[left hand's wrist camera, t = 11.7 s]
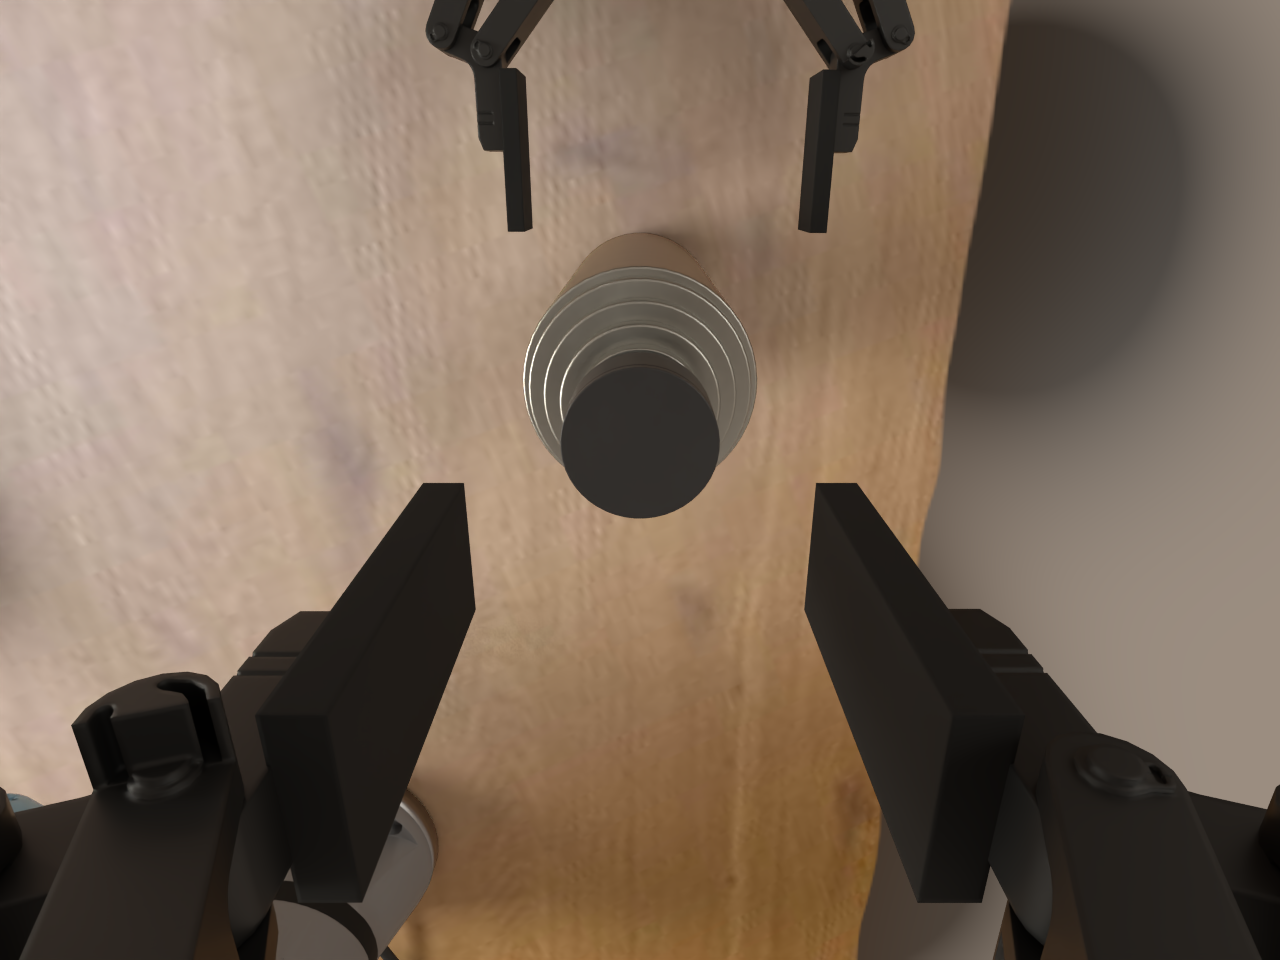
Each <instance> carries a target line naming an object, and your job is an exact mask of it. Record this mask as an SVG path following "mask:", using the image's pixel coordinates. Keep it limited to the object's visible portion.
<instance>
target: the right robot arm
mask: <svg viewBox="0 0 1280 960" xmlns="http://www.w3.org/2000/svg"><path fill="white" fill-rule="evenodd" d="M553 1H554V0H499V2H498V3H497V5H496V6H495V8H494V9H493V11H492V12H491V13H490V15H489V16H488V18H487V19H486V21H485V22H484V24H483V25H482V27H481V28H480V30H479V31H475V30H473V29H474V27H475V24H476V21H477V18H478V16H479V13H480V10H481V7H482V5H483V2H484V0H435V1H434V4H433V7H432V10H431V13H430V16H429V19H428V22H427V24H426V36H427V38H428V40H429V42H430V43H431V44H432V45H433V46H435V47H436V48H437V49H439V50H440V51H442V52H443V53H445V54H446V55H448V56H450V57H453V58H456V59H459V60H461V61H464V62H466V63H468V64H469V65H470V67H471V68H472V70H473V73H474V78H475V93H476V108H477V122H478V137H479V140H480V142H481V145H482V147H483V149H484V150H485V151H490V152H503V155H504V172H505V189H506V206H507V223H508V232H525V231H527V230H530V229H532V228H533V226H532V204H531V183H530V161H529V140H528V118H527V97H526V77H525V76H524V75H523V74H522V73H521V72H520V71H519V70H518V69H517V68H507V67H508V65H509V64H510V62H511V61H512V59H513V58H514V57H515V55H516V54H517V52H518V51H519V49H520V48H521V47H522V45H523V44H524V42H525V41H526V39H527V38H528V36H529V35H530V34H531V32H532V31H533V29H534V28H535V26H536V25H537V24H538V22H539V21H540V19H541V18H542V16H543V15H544V13H545V12H546V11H547V9H548V8H549V6H550V5H551V3H552V2H553ZM784 2H785V3H786V5H787V6H788V8H789V9H790V11H791V12H792V14H793V15H794V17H795V18H796V20H797V21H798V23H799V24H800V26H801V28H802V29H803V31H804V32H805V34H806V35H807V37H808V38H809V40H810V41H811V43H812V44H813V46H814V47H815V49H816V50H817V52H818V53H819V55H820V56H821V58H822V59H823V61H824V62H825V64H826V65H827V67H828V68H829V70H822V71H820V72H819V73H817V74H816V75H814V76H812V77H811V78H810V82H809V95H808V108H807V120H806V133H805V146H804V159H803V172H802V185H801V198H800V211H799V223H798V230H802V231H805V232H809V233H827V222H828V211H829V200H830V189H831V178H832V167H833V156H834V153H848V152H852V151H853V148H854V146H855V144H856V142H857V140H858V131H859V121H860V111H861V101H862V92H863V82H864V76H865V73H866V71H867V69H868V68H869V67H870V65H872V64H873V63H875V62H878V61H880V60H883V59H886V58H889V57H890V56H892V55H894V54H896V53H898V52H900V51H902V50H904V49H906V48H907V47H908V46H910V44H911V43H912V41H913V39H914V34H915V31H914V25H913V22H912V19H911V16H910V12H909V9H908V6H907V3H906V0H853V2H854V5H855V8H856V11H857V14H858V17H859V20H860V23H861V26H862V29H863V32H864V33H862V32H861V30H860V29H859V27H858V26H857V24H856V23H855V21H854V19H853V18H852V16H851V15H850V13H849V12H848V10H847V8H846V7H845V5H844V4H843V2H842V1H841V0H784Z"/></svg>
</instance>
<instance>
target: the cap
mask: <svg viewBox="0 0 1280 960" xmlns="http://www.w3.org/2000/svg"><path fill="white" fill-rule="evenodd" d="M560 450H561V456H562V461H563V464H564V467H565V470H566V472H567V474H568V476H569V478H570V480H571V481H572V483H573V484H574V486H575V487H576V489H577V490H578V491H579V492H580V493H581V494H582V495H583V496H584V497H585V498H586V499H587V500H588V501H590V502H591V503H593V504H594V505H595V506H597V507H599V508H601V509H603V510H605V511H607V512H609V513H612V514H615V515H618V516H622V517H628V518H652V517H658V516H662V515H665V514H668V513H671V512H673V511H676V510H677V509H679V508H681V507H683V506H685V505H686V504H687V503H689V502H690V501H692V500H693V499H694V498H695V497H696V496H697V495H698V494H699V493H700V492H701V491H702V490H703V489H704V487H705V486H706V485H707V483H708V482H709V480H710V478H711V476H712V474H713V472H714V470H715V467H716V464H717V461H718V456H719V451H720V436H719V429H718V425H717V421H716V418H715V414H714V411H713V408H712V405H711V402H710V400H709V397H708V394H707V392H706V391H705V389H704V387H703V385H702V384H701V383H700V381H699V380H698V379H697V377H696V376H695V375H694V374H693V373H692V372H691V371H690V370H688V369H687V368H686V367H684V366H683V365H682V364H680V363H678V362H676V361H675V360H673V359H670V358H668V357H665V356H662V355H658V354H654V353H647V352H633V353H626V354H622V355H618V356H615V357H612V358H610V359H607V360H605V361H604V362H602V363H600V364H598V365H597V366H596V367H594V368H593V369H592V370H590V371H589V372H588V373H587V374H586V375H585V376H584V377H583V379H582V380H581V381H580V383H579V384H578V385H577V387H576V389H575V391H574V393H573V395H572V397H571V400H570V402H569V405H568V408H567V411H566V415H565V418H564V421H563V425H562V429H561V437H560Z"/></svg>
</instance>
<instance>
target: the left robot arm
mask: <svg viewBox="0 0 1280 960" xmlns="http://www.w3.org/2000/svg"><path fill="white" fill-rule="evenodd" d="M475 610H476V608H475V597H474V587H473V576H472V565H471V554H470V544H469V533H468V522H467V512H466V501H465V490H464V483H423V484H422V486H421V487H420V488H419V490H418V491H417V492H416V494H415V495H414V497H413V498H412V499H411V501H410V502H409V503H408V505H407V506H406V508H405V509H404V510H403V512H402V513H401V514H400V516H399V517H398V519H397V520H396V521H395V523H394V524H393V525H392V527H391V528H390V530H389V531H388V532H387V534H386V535H385V536H384V538H383V539H382V541H381V542H380V543H379V545H378V546H377V547H376V549H375V550H374V552H373V553H372V554H371V556H370V557H369V558H368V560H367V561H366V563H365V564H364V565H363V567H362V568H361V570H360V571H359V572H358V574H357V575H356V576H355V578H354V579H353V581H352V582H351V583H350V585H349V586H348V587H347V589H346V590H345V592H344V593H343V594H342V596H341V597H340V598H339V600H338V601H337V603H336V604H335V605H334V607H333V608H332V609H331V611H300V612H299V613H297V614H296V615H294V616H292V617H291V618H289V619H288V620H286V621H285V622H283V623H282V624H280V625H279V626H277V627H275V628H274V629H272V630H271V631H270V632H269V633H268V635H267V636H266V637H265V638H264V639H263V641H262V642H261V643H260V644H259V645H258V647H257V648H256V649H255V650H254V652H253V656H252V657H249V658H248V659H247V660H246V661H245V662H244V664H243V665H242V666H241V667H240V668H239V670H238V671H237V672H238V673H237V676H233V677H232V678H231V679H230V681H229V682H228V683H227V684H226V685H225V687H224V688H223V689H222V690H221V691H220V688H219V684H218V683H216V682H215V681H214V680H212V679H211V678H210V677H209V676H207V675H203V674H197V673H192V672H178V673H166V674H160V675H156V676H152V677H148V678H145V679H141V680H137V681H134V682H132V683H129V684H127V685H125V686H123V687H120V688H118V689H116V690H114V691H112V692H109V693H107V694H106V695H104V696H103V697H101V698H100V699H99V700H97V701H96V702H94V703H93V704H91V705H90V706H88V707H87V708H85V710H84V711H83V712H82V713H81V714H80V716H79V717H78V718H77V719H76V720H75V721H74V723H73V724H72V725H71V726H72V729H73V732H74V735H75V737H76V740H77V743H78V746H79V749H80V752H81V755H82V758H83V761H84V764H85V766H86V769H87V772H88V775H89V778H90V781H91V784H92V787H93V793H92V795H89V796H85V797H82V798H77V799H73V800H68V801H64V802H59V803H55V804H50V805H46V806H43V805H41V804H40V803H38V802H36V801H34V800H33V799H31V798H29V797H27V796H24V795H20V794H6V791H5V790H4V789H2V788H1V787H0V960H378V958H379V957H380V956H381V957H382V959H383V960H399V959H398V958H397V957H396V956H395V955H394V953H393V952H392V951H391V950H390V948H389V947H388V944H389V943H390V941H391V940H392V939H393V937H394V936H395V935H396V933H397V932H398V930H399V929H400V928H401V926H402V925H403V924H404V922H405V921H406V920H407V918H408V917H409V915H410V914H411V913H412V911H413V910H414V909H415V907H416V906H417V904H418V903H419V901H420V900H421V898H422V897H423V895H424V893H425V891H426V890H427V888H428V885H429V883H430V880H431V877H432V874H433V870H434V867H435V864H436V860H437V855H438V839H437V834H436V830H435V827H434V824H433V822H432V820H431V818H430V816H429V814H428V813H427V811H426V809H425V808H424V807H423V805H422V804H421V803H420V802H419V801H418V800H417V798H416V797H415V796H414V795H413V794H411V793H410V792H409V791H408V790H407V789H406V788H407V786H408V783H409V781H410V778H411V775H412V773H413V770H414V768H415V765H416V763H417V760H418V757H419V755H420V752H421V750H422V747H423V744H424V742H425V739H426V737H427V734H428V732H429V729H430V726H431V724H432V721H433V719H434V716H435V713H436V711H437V708H438V706H439V703H440V700H441V698H442V695H443V693H444V690H445V688H446V685H447V682H448V680H449V677H450V675H451V672H452V669H453V667H454V664H455V662H456V659H457V657H458V654H459V651H460V649H461V646H462V644H463V641H464V638H465V636H466V633H467V631H468V628H469V626H470V623H471V620H472V618H473V615H474V613H475ZM804 610H805V613H806V615H807V618H808V620H809V623H810V626H811V628H812V631H813V633H814V636H815V638H816V641H817V644H818V646H819V649H820V651H821V654H822V657H823V659H824V662H825V664H826V667H827V669H828V672H829V675H830V677H831V680H832V682H833V685H834V688H835V690H836V693H837V695H838V698H839V700H840V703H841V706H842V708H843V711H844V713H845V716H846V719H847V721H848V724H849V726H850V729H851V732H852V734H853V737H854V739H855V742H856V744H857V747H858V750H859V752H860V755H861V757H862V760H863V763H864V765H865V768H866V770H867V773H868V775H869V778H870V781H871V783H872V786H873V788H874V791H875V794H876V796H877V799H878V801H879V804H880V806H881V809H882V812H883V814H884V817H885V819H886V822H887V825H888V827H889V830H890V832H891V835H892V837H893V840H894V842H895V845H896V848H897V850H898V853H899V856H900V858H901V861H902V863H903V866H904V868H905V871H906V874H907V876H908V879H909V881H910V884H911V887H912V889H913V892H914V894H915V897H916V900H917V902H918V903H982V899H983V895H984V891H985V886H986V882H987V878H988V873H989V869H990V866H991V867H992V869H993V871H994V873H995V875H996V877H997V879H998V881H999V883H1000V885H1001V887H1002V889H1003V891H1004V893H1005V895H1006V897H1007V899H1008V901H1007V905H1006V908H1005V912H1004V917H1003V920H1002V924H1001V928H1000V932H999V937H998V941H997V945H996V949H995V953H994V957H993V960H1280V785H1279V786H1277V787H1276V789H1275V791H1274V794H1273V796H1272V799H1271V801H1270V804H1269V806H1268V809H1263V808H1258V807H1254V806H1249V805H1245V804H1240V803H1235V802H1231V801H1227V800H1222V799H1218V798H1213V797H1209V796H1204V795H1200V794H1196V793H1193V792H1189V791H1187V789H1186V788H1185V786H1184V785H1183V783H1182V782H1181V781H1180V779H1179V778H1178V776H1177V775H1176V774H1175V772H1174V771H1173V770H1172V769H1170V768H1169V767H1168V766H1167V765H1165V764H1164V763H1163V762H1162V761H1160V760H1159V759H1158V758H1157V757H1155V756H1154V755H1153V754H1151V753H1149V752H1147V751H1145V750H1143V749H1141V748H1139V747H1137V746H1135V745H1133V744H1131V743H1129V742H1127V741H1124V740H1121V739H1117V738H1114V737H1111V736H1107V735H1104V734H1100V733H1097V732H1096V731H1095V730H1094V729H1093V727H1092V726H1091V725H1090V724H1089V723H1088V721H1087V720H1086V719H1085V718H1084V717H1083V715H1082V714H1081V713H1080V712H1079V711H1078V709H1077V708H1076V707H1075V706H1074V705H1073V703H1072V702H1071V701H1070V700H1069V699H1068V697H1067V696H1066V695H1065V694H1064V693H1063V691H1062V690H1061V689H1060V688H1059V687H1058V686H1057V684H1056V683H1055V682H1054V681H1053V679H1052V678H1051V677H1050V676H1049V675H1048V674H1047V673H1044V672H1043V667H1042V666H1041V665H1040V664H1039V663H1038V662H1037V660H1036V659H1035V658H1034V657H1033V656H1032V654H1028V650H1027V648H1026V647H1025V646H1024V645H1023V644H1022V642H1021V641H1020V640H1019V639H1018V638H1017V636H1016V635H1015V634H1014V633H1013V632H1012V630H1011V629H1010V628H1009V627H1007V626H1006V625H1004V624H1003V623H1001V622H1000V621H998V620H996V619H995V618H993V617H992V616H990V615H989V614H987V613H985V612H984V611H982V610H981V609H948V608H947V607H946V605H945V604H944V603H943V601H942V600H941V598H940V597H939V596H938V594H937V593H936V592H935V590H934V589H933V587H932V586H931V585H930V583H929V582H928V581H927V579H926V578H925V576H924V575H923V574H922V572H921V571H920V570H919V568H918V567H917V565H916V564H915V563H914V561H913V560H912V559H911V557H910V556H909V554H908V553H907V552H906V550H905V549H904V547H903V546H902V545H901V543H900V542H899V541H898V539H897V538H896V536H895V535H894V534H893V532H892V531H891V530H890V528H889V527H888V525H887V524H886V523H885V521H884V520H883V519H882V517H881V516H880V514H879V513H878V512H877V510H876V509H875V508H874V506H873V505H872V503H871V502H870V501H869V499H868V498H867V497H866V495H865V494H864V492H863V491H862V490H861V488H860V487H859V486H858V484H857V483H816V490H815V501H814V511H813V522H812V533H811V544H810V554H809V565H808V576H807V587H806V597H805V608H804Z"/></svg>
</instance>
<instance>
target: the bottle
mask: <svg viewBox="0 0 1280 960" xmlns="http://www.w3.org/2000/svg"><path fill="white" fill-rule="evenodd" d="M633 352H647V353H654V354H658V355H662V356H665V357H668V358H670V359H673V360H675V361H676V362H678V363H680V364H682V365H683V366H684V367H686V368H687V369H688V370H690V371H691V372H692V373H693V374H694V375H695V376H696V377H697V379H698V380H699V381H700V383H701V384H702V385H703V387H704V389H705V391H706V392H707V394H708V397H709V400H710V402H711V405H712V408H713V411H714V414H715V418H716V421H717V425H718V429H719V436H720V451H719V456H718V461H717V464H716V467H717V466H718V465H719V464H720V463H721V462H722V461H723V460H724V459H725V458H726V457H727V456H728V455H729V454H730V452H731V451H732V450H733V449H734V448H735V446H736V445H737V443H738V442H739V440H740V438H741V437H742V435H743V433H744V431H745V429H746V427H747V425H748V423H749V420H750V417H751V414H752V411H753V408H754V403H755V398H756V389H757V372H756V362H755V358H754V353H753V349H752V346H751V343H750V340H749V338H748V335H747V333H746V331H745V329H744V327H743V325H742V323H741V322H740V320H739V319H738V317H737V316H736V314H735V313H734V312H733V310H732V309H731V307H730V306H729V305H728V303H727V302H726V301H725V299H724V298H723V297H722V295H721V294H720V293H719V291H718V290H717V288H716V287H715V286H714V284H713V283H712V282H711V280H710V279H709V278H708V276H707V275H706V274H705V272H704V271H703V269H702V268H701V267H700V265H699V264H698V263H697V261H696V260H695V259H694V258H693V257H692V256H691V254H690V253H689V252H688V251H686V250H685V249H684V248H683V247H681V246H680V245H678V244H677V243H675V242H673V241H672V240H669V239H667V238H665V237H662V236H658V235H654V234H647V233H633V234H625V235H622V236H618V237H615V238H613V239H611V240H609V241H607V242H605V243H603V244H602V245H600V246H599V247H597V248H596V249H595V250H594V251H592V252H591V253H590V254H589V256H588V257H587V258H586V259H585V260H584V261H583V263H582V264H581V265H580V267H579V268H578V269H577V271H576V272H575V274H574V275H573V276H572V278H571V279H570V280H569V282H568V283H567V284H566V286H565V287H564V288H563V290H562V291H561V293H560V294H559V295H558V297H557V298H556V299H555V301H554V302H553V303H552V305H551V306H550V307H549V309H548V310H547V312H546V313H545V314H544V316H543V317H542V319H541V320H540V322H539V323H538V325H537V327H536V329H535V331H534V333H533V335H532V338H531V340H530V343H529V346H528V349H527V353H526V358H525V363H524V373H523V388H524V397H525V403H526V408H527V411H528V414H529V417H530V420H531V423H532V425H533V427H534V429H535V431H536V433H537V435H538V437H539V438H540V440H541V441H542V443H543V444H544V446H545V447H546V449H547V450H548V451H549V452H550V453H551V455H552V456H553V457H554V458H555V459H556V460H557V461H558V462H559V463H560V464H561V465H562V466H564V464H563V461H562V456H561V450H560V437H561V429H562V425H563V421H564V418H565V415H566V411H567V408H568V405H569V402H570V400H571V397H572V395H573V393H574V391H575V389H576V387H577V385H578V384H579V383H580V381H581V380H582V379H583V377H584V376H585V375H586V374H587V373H588V372H589V371H590V370H592V369H593V368H594V367H596V366H597V365H598V364H600V363H602V362H604V361H605V360H607V359H610V358H612V357H615V356H618V355H622V354H626V353H633Z"/></svg>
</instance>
